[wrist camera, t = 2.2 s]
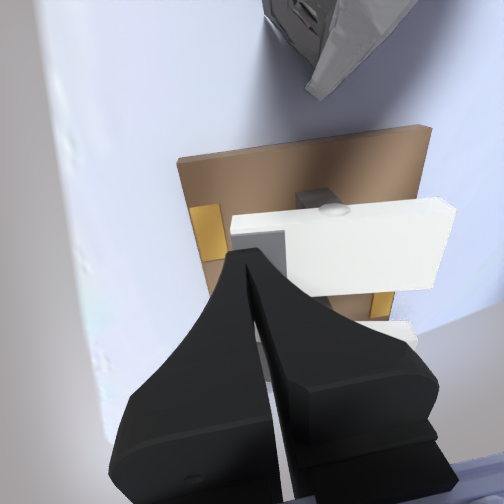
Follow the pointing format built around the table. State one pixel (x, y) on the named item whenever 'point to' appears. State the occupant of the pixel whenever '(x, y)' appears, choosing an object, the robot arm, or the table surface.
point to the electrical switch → (335, 33)
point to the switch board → (302, 191)
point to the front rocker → (352, 244)
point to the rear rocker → (390, 328)
